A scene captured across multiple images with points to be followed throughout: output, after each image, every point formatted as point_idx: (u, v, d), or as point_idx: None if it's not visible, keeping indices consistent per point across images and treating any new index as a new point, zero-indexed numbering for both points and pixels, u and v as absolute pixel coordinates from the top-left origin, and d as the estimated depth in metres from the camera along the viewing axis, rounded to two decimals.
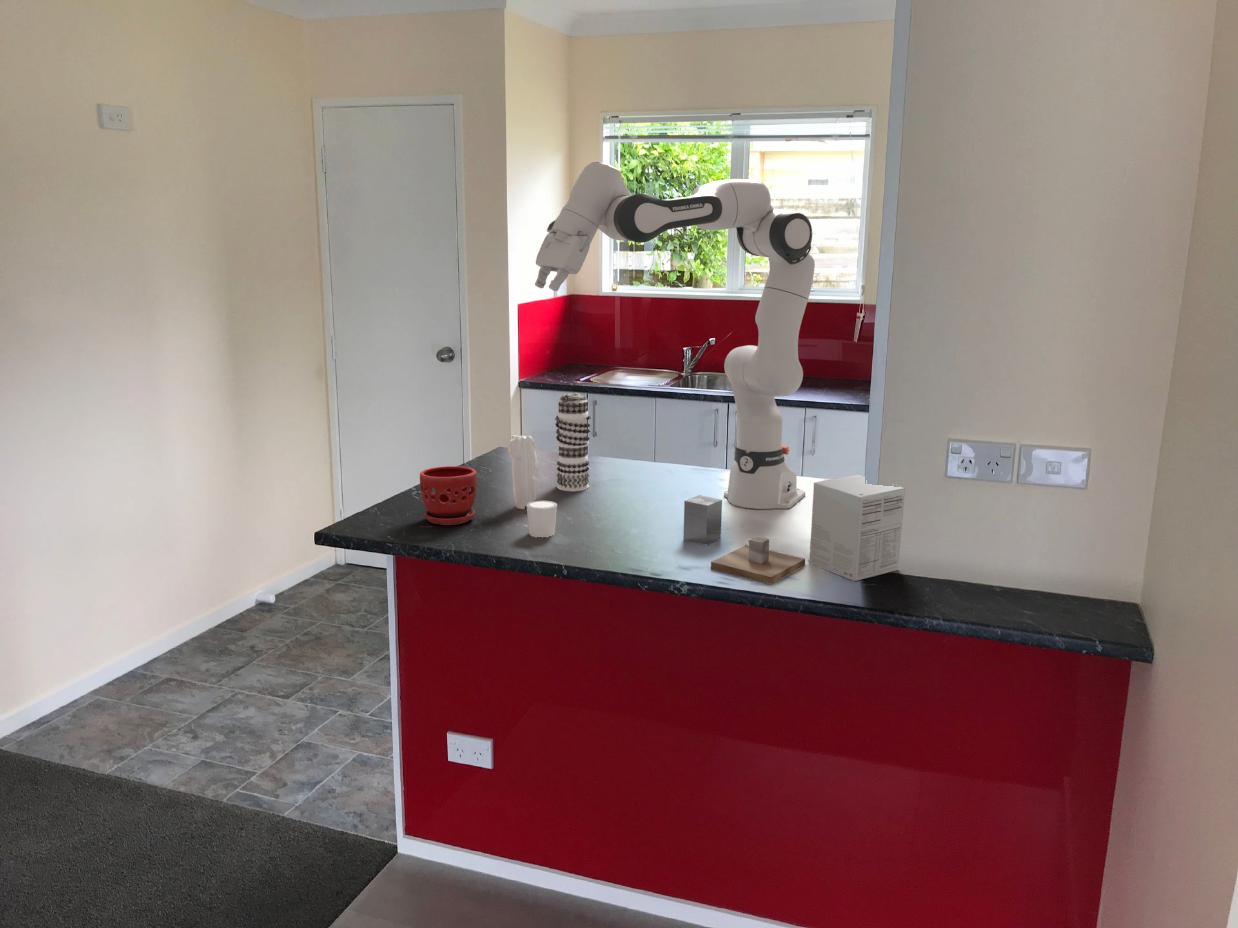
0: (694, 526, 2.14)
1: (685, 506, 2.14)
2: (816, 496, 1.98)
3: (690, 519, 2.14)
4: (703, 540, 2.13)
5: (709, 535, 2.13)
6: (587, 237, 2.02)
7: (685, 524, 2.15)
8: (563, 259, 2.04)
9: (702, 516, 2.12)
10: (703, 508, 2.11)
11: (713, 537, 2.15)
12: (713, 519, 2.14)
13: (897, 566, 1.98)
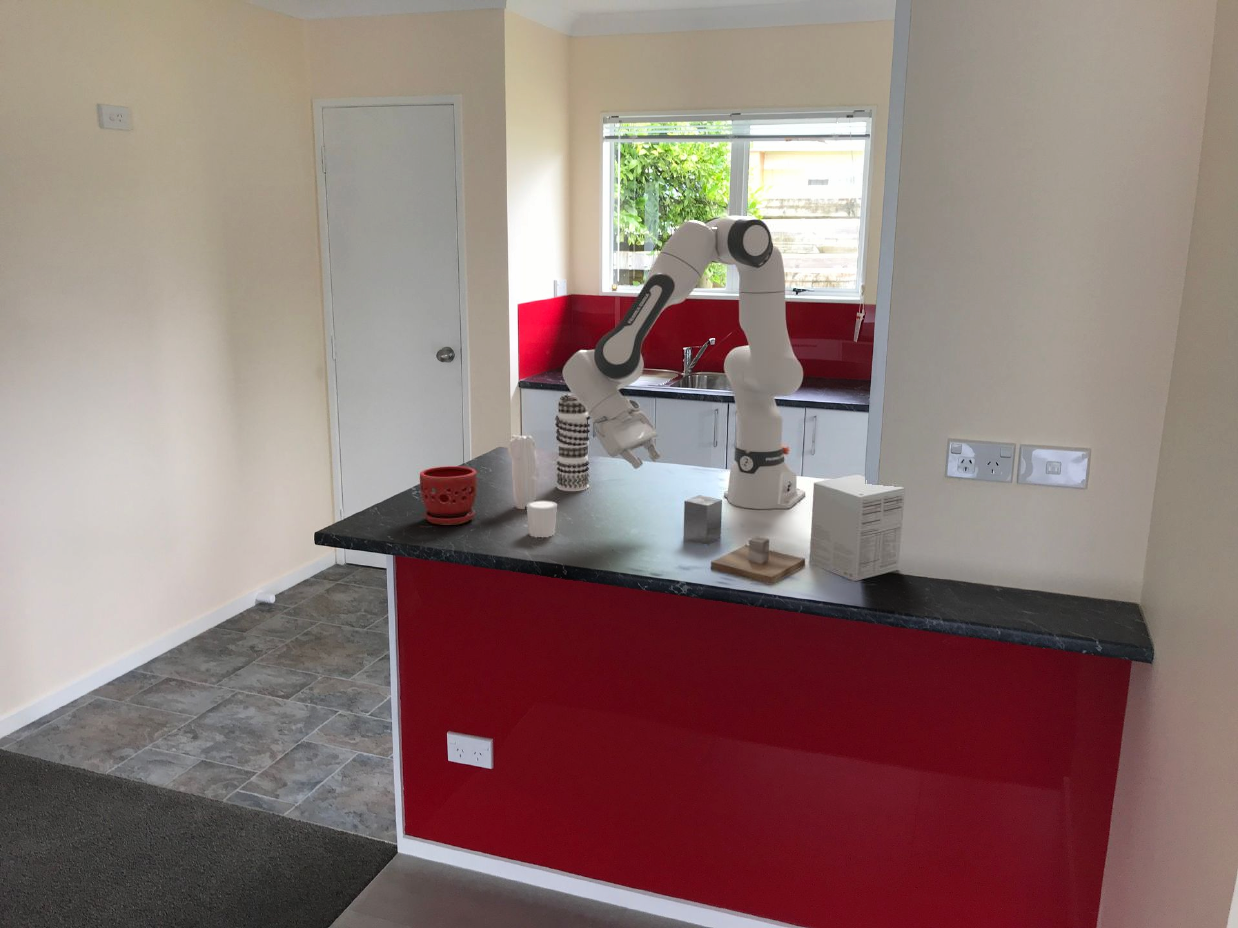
0: (694, 526, 2.14)
1: (685, 506, 2.14)
2: (816, 496, 1.98)
3: (690, 519, 2.14)
4: (703, 540, 2.13)
5: (709, 535, 2.13)
6: (594, 426, 2.11)
7: (685, 524, 2.15)
8: None
9: (702, 516, 2.12)
10: (703, 508, 2.11)
11: (713, 537, 2.15)
12: (713, 519, 2.14)
13: (897, 566, 1.98)
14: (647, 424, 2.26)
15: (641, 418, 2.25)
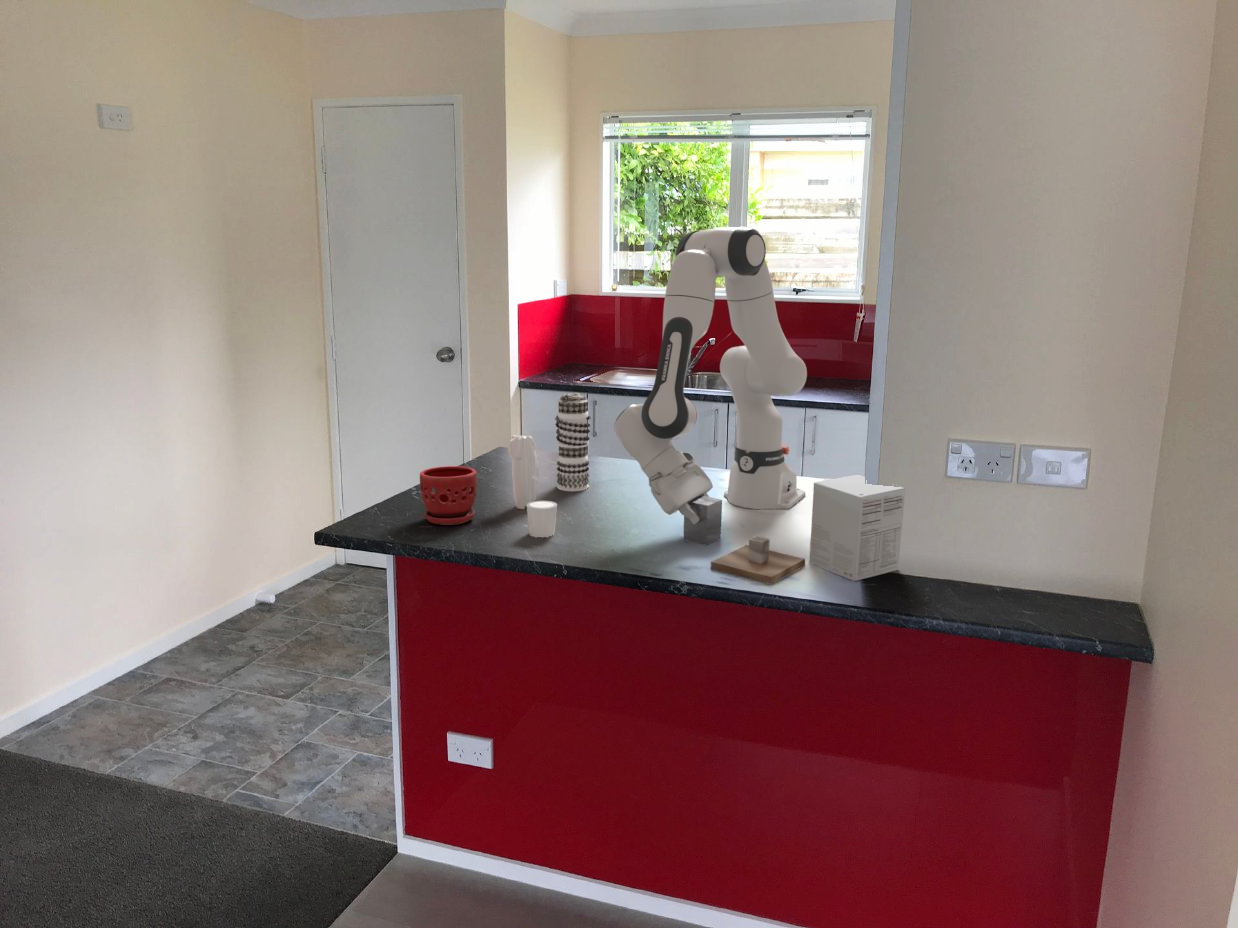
0: (694, 526, 2.14)
1: None
2: (816, 496, 1.98)
3: None
4: (703, 540, 2.13)
5: (709, 535, 2.13)
6: (649, 484, 2.09)
7: (685, 524, 2.15)
8: None
9: (702, 516, 2.12)
10: (703, 508, 2.11)
11: (713, 537, 2.15)
12: (713, 519, 2.14)
13: (897, 566, 1.98)
14: (702, 476, 2.22)
15: (695, 469, 2.22)
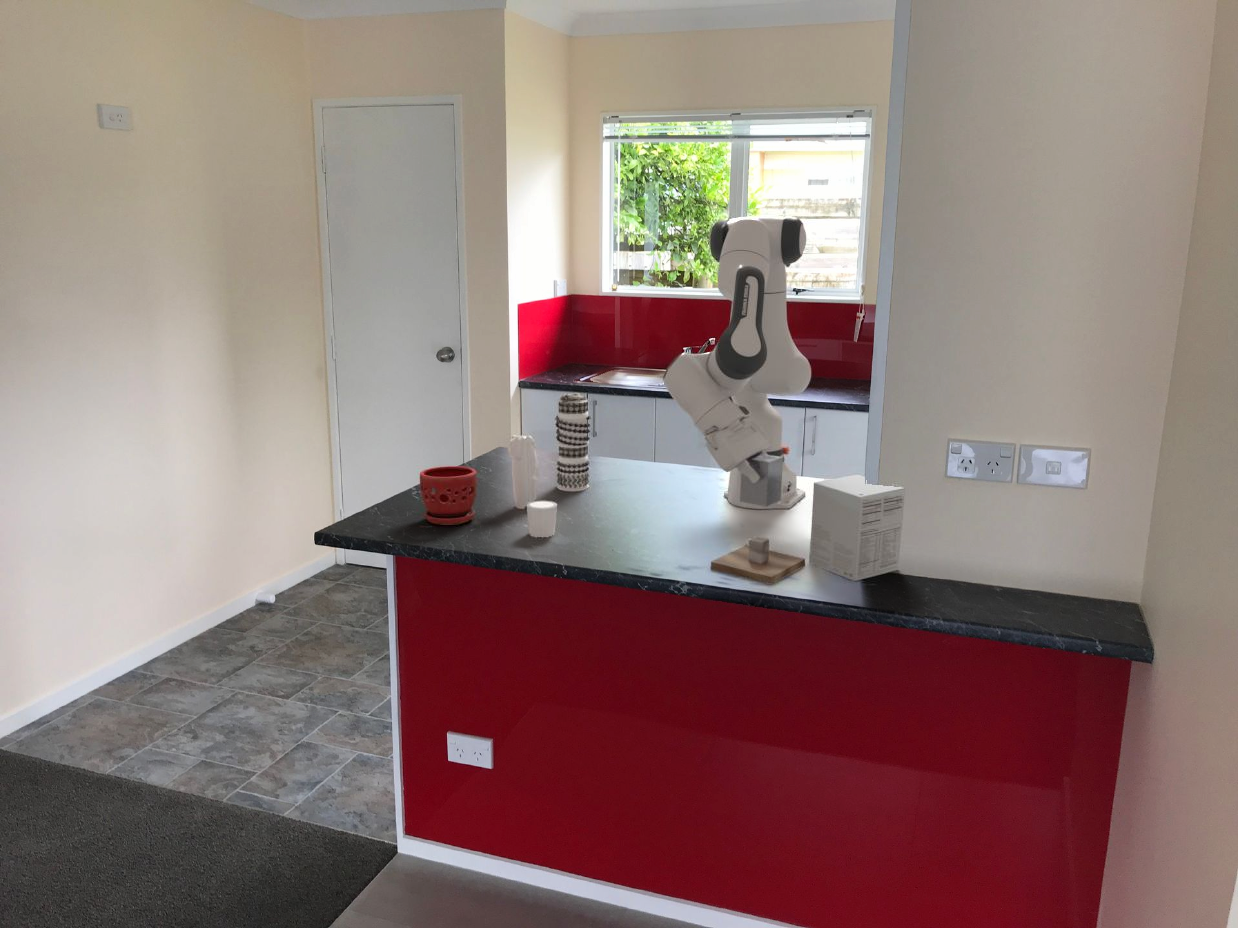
0: (753, 486, 1.93)
1: None
2: (816, 496, 1.98)
3: (748, 478, 1.93)
4: (763, 501, 1.92)
5: (769, 496, 1.92)
6: (705, 437, 1.88)
7: (742, 484, 1.94)
8: None
9: (762, 474, 1.91)
10: (764, 465, 1.91)
11: (773, 498, 1.94)
12: (774, 478, 1.93)
13: (897, 566, 1.98)
14: (759, 432, 2.02)
15: (752, 425, 2.01)
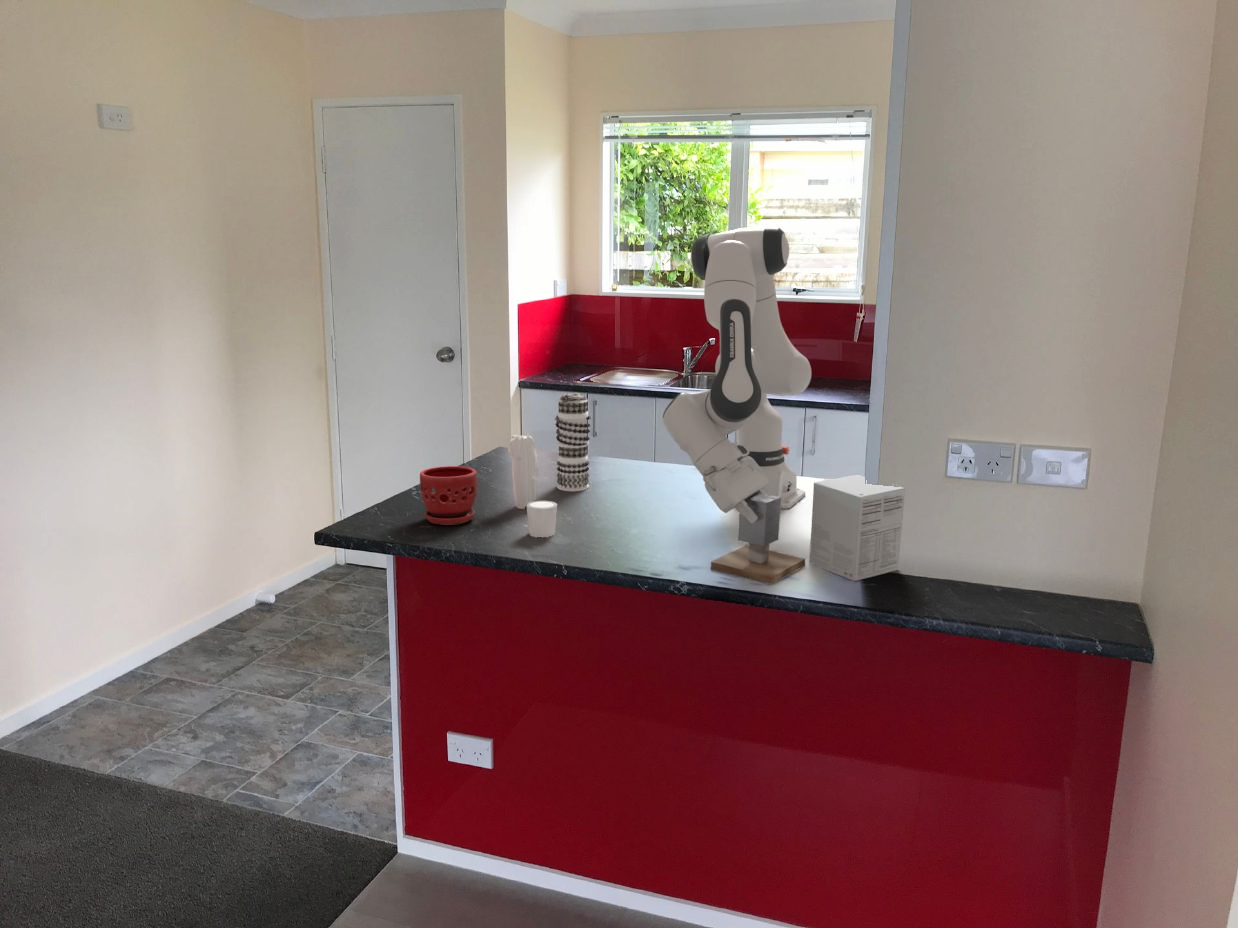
0: (751, 526, 1.95)
1: None
2: (816, 496, 1.98)
3: (746, 518, 1.95)
4: (761, 541, 1.94)
5: (767, 536, 1.94)
6: (703, 479, 1.90)
7: (740, 523, 1.96)
8: None
9: (760, 514, 1.93)
10: (762, 506, 1.92)
11: (771, 538, 1.96)
12: (772, 518, 1.95)
13: (897, 566, 1.98)
14: (757, 471, 2.03)
15: (750, 464, 2.03)
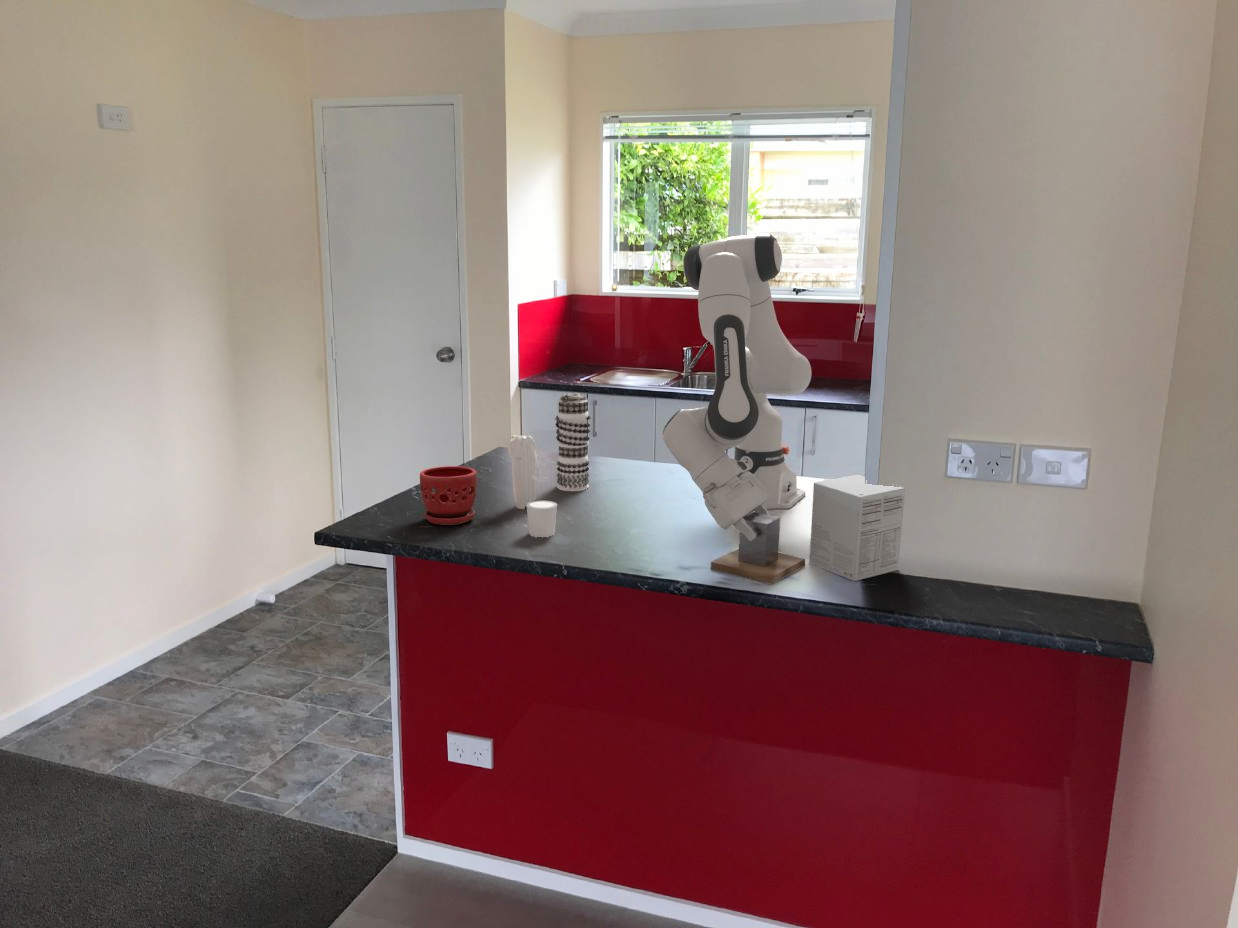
0: (751, 546, 1.96)
1: None
2: (816, 496, 1.98)
3: (746, 539, 1.96)
4: (762, 561, 1.95)
5: (768, 556, 1.95)
6: (703, 496, 1.90)
7: (741, 544, 1.97)
8: None
9: (760, 535, 1.94)
10: (762, 527, 1.93)
11: (771, 558, 1.97)
12: (772, 539, 1.96)
13: (897, 566, 1.98)
14: (757, 487, 2.04)
15: (750, 479, 2.04)
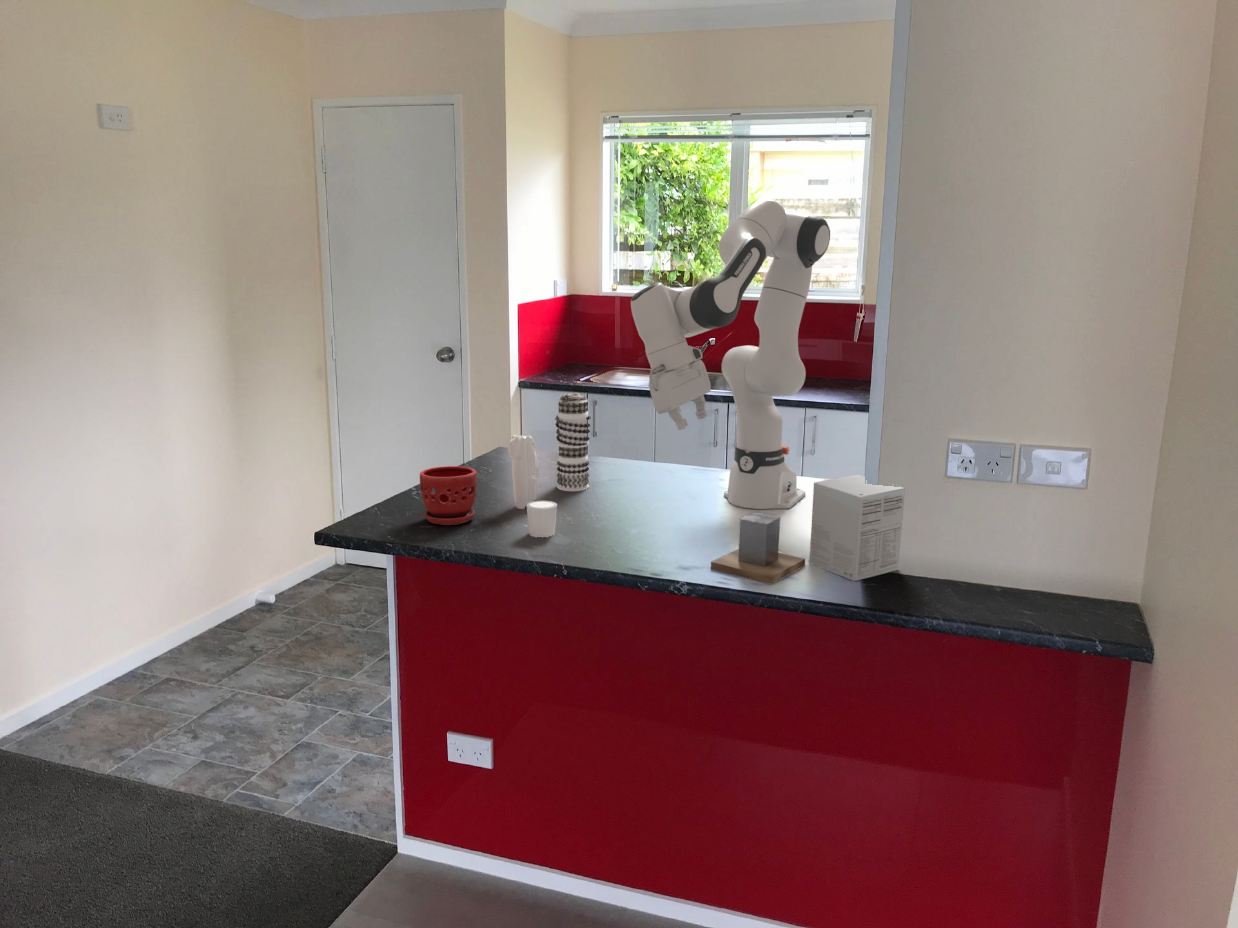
0: (751, 546, 1.96)
1: (741, 524, 1.96)
2: (816, 496, 1.98)
3: (746, 539, 1.96)
4: (762, 561, 1.95)
5: (768, 556, 1.95)
6: (649, 376, 1.94)
7: (741, 544, 1.97)
8: None
9: (760, 535, 1.94)
10: (762, 527, 1.93)
11: (771, 558, 1.97)
12: (772, 539, 1.96)
13: (897, 566, 1.98)
14: (703, 377, 2.09)
15: (699, 368, 2.08)
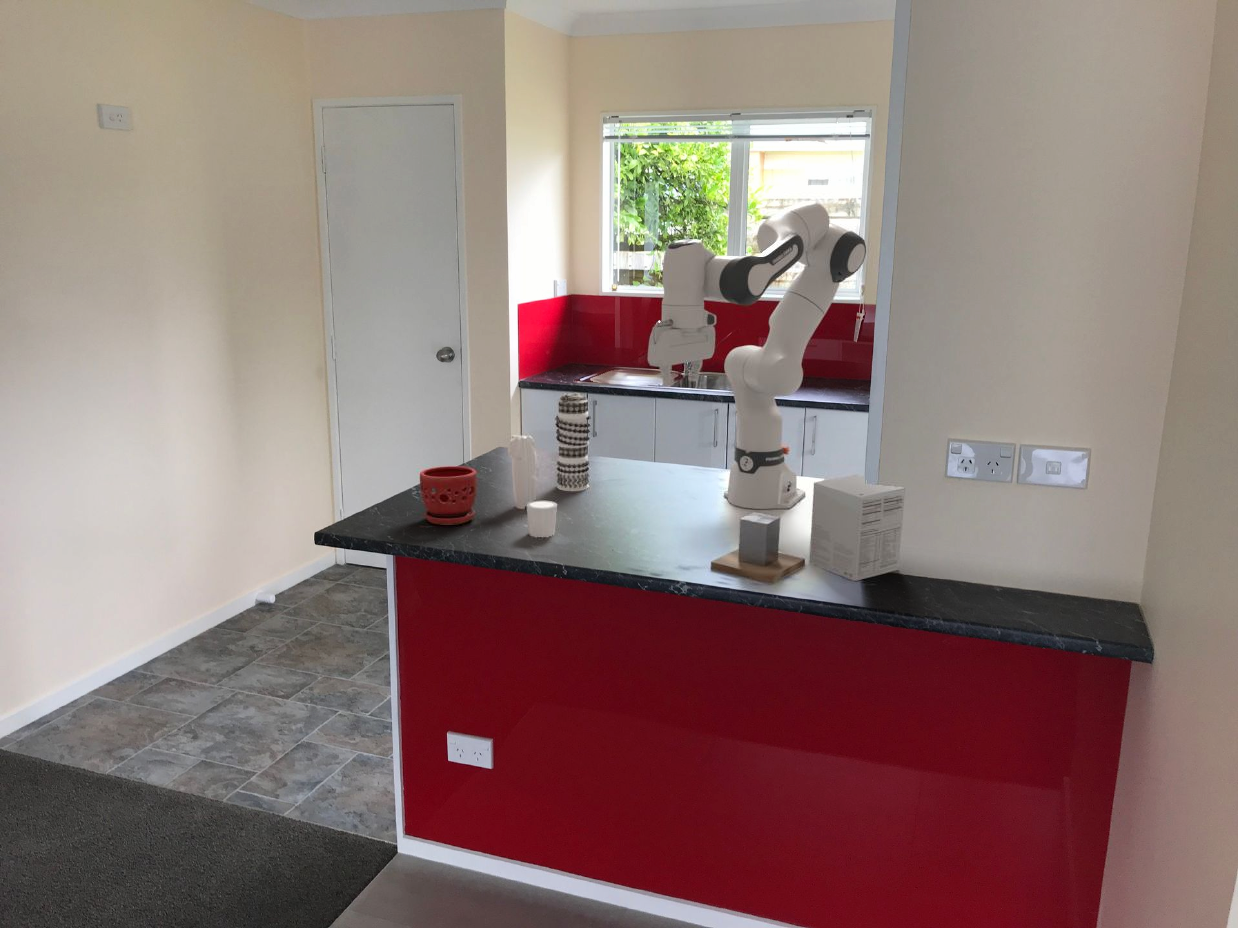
0: (751, 546, 1.96)
1: (741, 524, 1.96)
2: (816, 496, 1.98)
3: (746, 539, 1.96)
4: (762, 561, 1.95)
5: (768, 556, 1.95)
6: (653, 328, 1.97)
7: (741, 544, 1.97)
8: None
9: (760, 535, 1.94)
10: (762, 527, 1.93)
11: (771, 558, 1.97)
12: (772, 539, 1.96)
13: (897, 566, 1.98)
14: (709, 343, 2.11)
15: (708, 334, 2.10)
